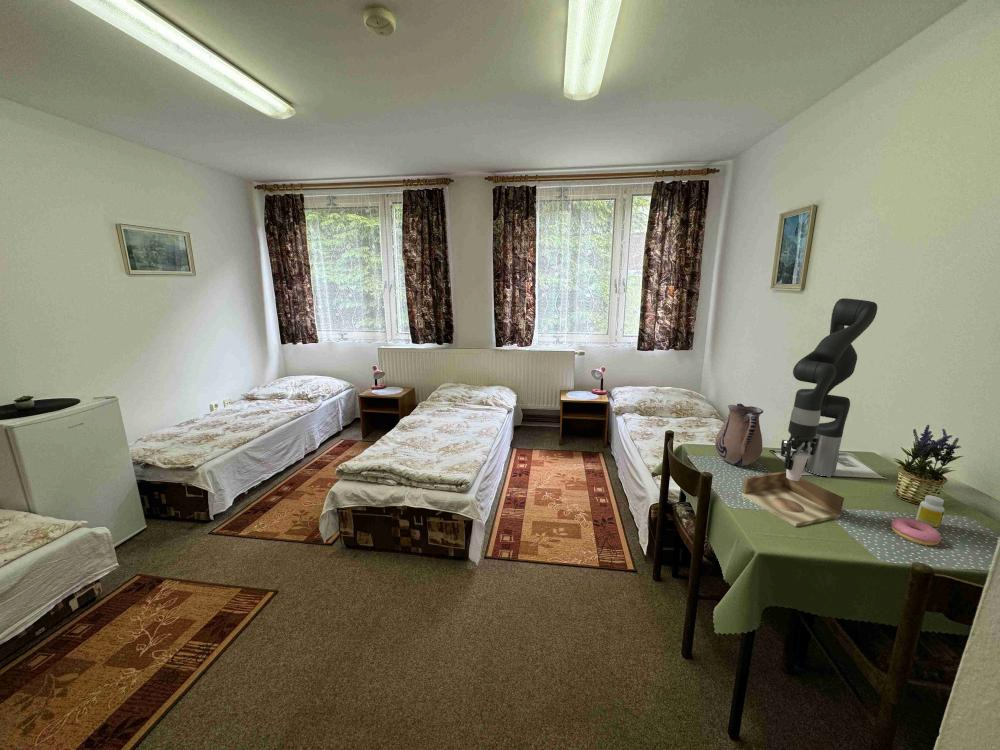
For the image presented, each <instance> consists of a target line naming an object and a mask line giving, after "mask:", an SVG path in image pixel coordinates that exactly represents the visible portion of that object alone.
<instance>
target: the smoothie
mask: <svg viewBox="0 0 1000 750" xmlns="http://www.w3.org/2000/svg"><path fill="white" fill-rule="evenodd" d="M791 450H793V451H796V450H794V449H792V448H791ZM792 454H793V453H792V452H791V455H792ZM808 458H809V453H806V452H804V451H800V452H799V454H798V455H796V454H795V458H794V462H793V467H792V470H788V469H786V468H785V471H786V478H788V479H790V480H793V481H799V480H800V478H802V474H803V472H804V469H805V468H804V467H805V464H806V461H807V459H808Z"/></svg>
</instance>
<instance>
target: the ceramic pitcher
mask: <svg viewBox="0 0 1000 750" xmlns="http://www.w3.org/2000/svg"><path fill="white" fill-rule="evenodd" d="M727 408H728V410H729V413H728V416H727V417H726V419H725V420H724V422H723V424H722V425H721V426H720V427H721V428H720V429H719V431H718V433H717V435H716V438H715V442H714V444H715V446H714V447H715V450H716V452H717V454H718V455H719V456H720V458H721V459H722V460H723V461H725V462H727V463H729V464H731V465H734V466H739V467H741V466H744V467H745V466H749V465H751V464H753V463H754V462H755V461H757V460H758V458H759V457H761V455H762V453H763V436H762V435H763V434H762V431H761V425H760V416H761V414H763V413H764V409H762V408H759V407H757V406H752V405H751V406H748V405H747V406H745V405H744V404H743V403H736V405H735V404H729V405H727Z"/></svg>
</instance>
